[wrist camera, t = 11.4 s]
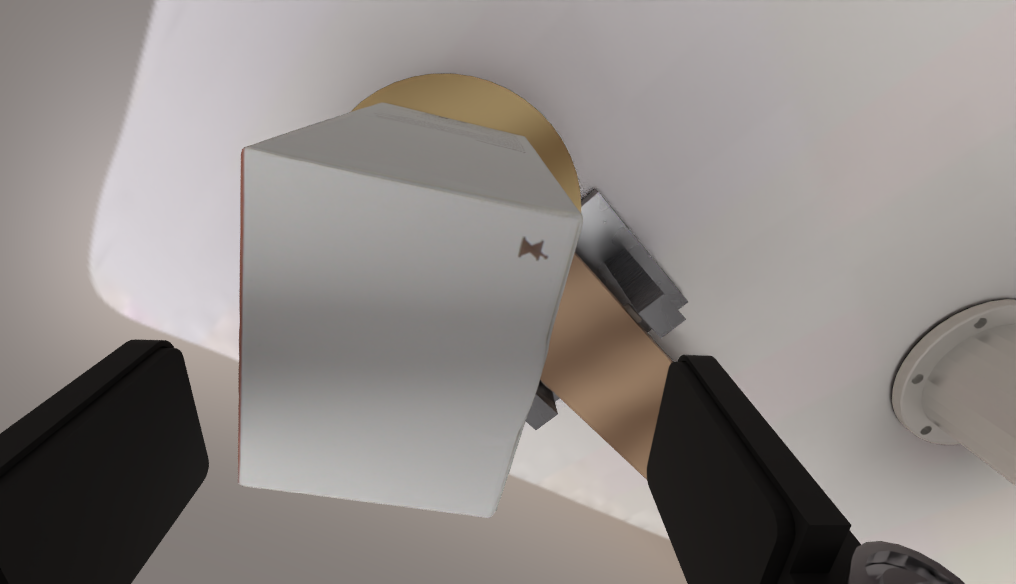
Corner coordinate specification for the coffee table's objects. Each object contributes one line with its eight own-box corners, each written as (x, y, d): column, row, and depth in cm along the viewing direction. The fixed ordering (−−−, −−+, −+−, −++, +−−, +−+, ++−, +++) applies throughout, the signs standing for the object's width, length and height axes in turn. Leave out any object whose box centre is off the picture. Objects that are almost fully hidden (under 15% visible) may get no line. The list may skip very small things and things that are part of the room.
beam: (790, 421, 31) (859, 499, 26) (640, 517, 34) (673, 606, 29) (455, 11, 21) (446, -14, 15) (279, 196, 24) (216, 235, 18)
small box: (379, 99, 20) (232, 133, 8) (528, 135, 21) (596, 213, 9) (358, 278, 23) (231, 494, 11) (489, 302, 24) (500, 525, 12)
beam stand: (682, 295, 33) (740, 357, 26) (549, 395, 36) (567, 476, 29) (595, 188, 30) (632, 225, 23) (455, 308, 33) (449, 375, 25)
